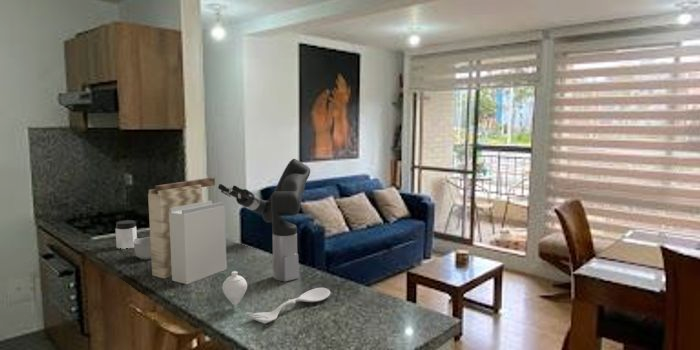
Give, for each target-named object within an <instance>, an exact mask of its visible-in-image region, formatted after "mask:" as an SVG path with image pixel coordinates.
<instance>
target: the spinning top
mask: <svg viewBox="0 0 700 350" xmlns="http://www.w3.org/2000/svg"><path fill="white" fill-rule="evenodd" d="M238 273H239V272H238V271H236V270H235V271H234V270H233V271H232V272H231V275H230V276H228V277H226V278H225V280H224V281H223V283H222V286H221V288H222V292H223V293H224V296H225V297H226V298H227V299H228V301H229V302H230V303H231V304H232V305H233V306H234V309H237V306H238V305H239V303H240V302H241V301H242V299H243V297H244V296H245V294H246V291H247V289H248V283H247V281H246V279H245V278H244V277H243V276H242V275H238Z"/></svg>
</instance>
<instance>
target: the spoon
mask: <svg viewBox="0 0 700 350" xmlns="http://www.w3.org/2000/svg"><path fill="white" fill-rule="evenodd" d="M330 296H331V291H330V289H329V288H326V287H316V288H315V287H314V288H313V289H310V290H307V291H305V292H304V293H302V294H300V295H299V296H298V297H296V298H292V299H290V298H289V299H287V301H285V302H283V303H281V304H280V305H279V306H278V307H277V308H275V309H274V310H271V311H268V312H266V311H265V312H262V311H261V312H245V313H244V314H243V315H244V316H245V317H247V318H250V319H252V320H255V321H258V322H259V323H263V324H268V323H271V322H272V321H275V320H276V319H278V316H279V314H280V312H281V311H282V310H283V309H284V308H285V307H287V306H289V305H294V304H296V303H297V302H304V303H317V302H321V301H323V300H326V299H327V298H328V297H330Z"/></svg>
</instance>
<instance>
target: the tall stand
mask: <svg viewBox="0 0 700 350" xmlns="http://www.w3.org/2000/svg"><path fill="white" fill-rule="evenodd" d="M147 197H148V198H147V199H148V214H149V215H148V218H149V237H150V241H151V259H150V260H151V275H152V276H154V277H158V278H161V279H166V278H170V277H172V266H171V244H170V223H169V208H174V207H179V206H184V205H189V204H194V203H199V202H204V201H203V187H201V185H194V186H187V187H181V188H174V189H168V190H161V191H158V194H155V188H153V189H152V188H151V189H148V195H147Z"/></svg>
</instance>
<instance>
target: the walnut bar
mask: <svg viewBox="0 0 700 350" xmlns="http://www.w3.org/2000/svg"><path fill="white" fill-rule="evenodd" d="M215 181H216V180H215V177H204V178H198V179H193V180H185V181H179V182H172V183H165V184H159V185H155V186H154V189H155V194H158V191H161V190H168V189H174V188H181V187H187V186H194V185H201V188H205V187H212V186H215V185H216V182H215Z"/></svg>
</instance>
